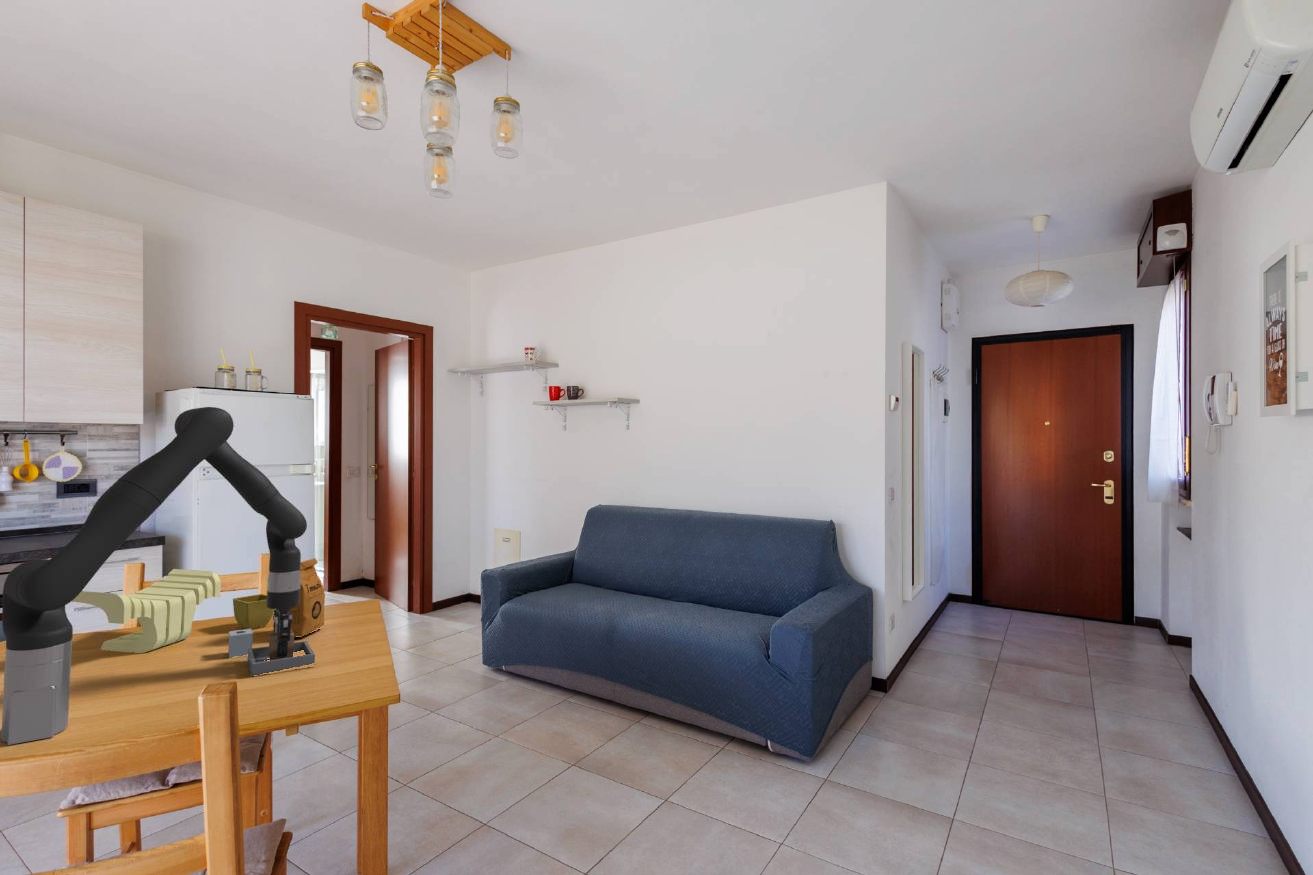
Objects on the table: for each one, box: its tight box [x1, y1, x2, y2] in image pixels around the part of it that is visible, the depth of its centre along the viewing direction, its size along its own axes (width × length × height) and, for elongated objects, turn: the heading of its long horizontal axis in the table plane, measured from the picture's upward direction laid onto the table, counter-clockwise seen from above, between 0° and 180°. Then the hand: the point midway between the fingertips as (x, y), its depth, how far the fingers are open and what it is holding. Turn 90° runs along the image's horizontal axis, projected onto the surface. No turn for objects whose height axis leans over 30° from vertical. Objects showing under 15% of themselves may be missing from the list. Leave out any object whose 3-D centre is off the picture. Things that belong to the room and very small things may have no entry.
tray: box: [246, 640, 316, 676], centre depth 162 cm, size 14×14×3 cm
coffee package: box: [289, 558, 326, 637], centre depth 188 cm, size 10×12×22 cm
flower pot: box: [232, 593, 274, 630], centre depth 193 cm, size 9×9×9 cm
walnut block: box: [268, 630, 295, 660], centre depth 162 cm, size 5×5×6 cm
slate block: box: [227, 628, 254, 659], centre depth 169 cm, size 5×5×6 cm
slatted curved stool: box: [70, 568, 222, 654], centre depth 174 cm, size 30×16×18 cm, turn 173°
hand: (280, 653), depth 162 cm, fingers closed on walnut block, 5 cm apart
